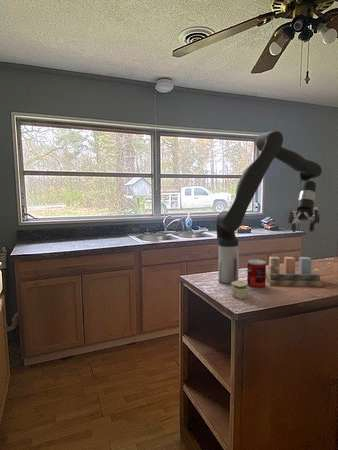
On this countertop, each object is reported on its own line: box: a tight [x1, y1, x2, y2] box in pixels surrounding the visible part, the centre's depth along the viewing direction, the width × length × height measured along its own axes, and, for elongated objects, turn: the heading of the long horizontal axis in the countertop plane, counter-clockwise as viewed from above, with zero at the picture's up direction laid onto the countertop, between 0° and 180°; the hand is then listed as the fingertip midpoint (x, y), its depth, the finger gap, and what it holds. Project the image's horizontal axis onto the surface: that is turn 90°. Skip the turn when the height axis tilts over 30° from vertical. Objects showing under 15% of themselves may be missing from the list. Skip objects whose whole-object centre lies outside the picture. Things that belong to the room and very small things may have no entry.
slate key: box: [298, 256, 312, 274], centre depth 133 cm, size 4×4×8 cm
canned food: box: [246, 259, 267, 289], centre depth 126 cm, size 8×8×11 cm
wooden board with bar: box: [266, 271, 324, 288], centre depth 132 cm, size 22×16×4 cm
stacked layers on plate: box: [230, 280, 248, 300], centre depth 114 cm, size 10×9×6 cm
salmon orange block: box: [283, 256, 296, 274], centre depth 134 cm, size 4×4×8 cm
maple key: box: [268, 256, 281, 274], centre depth 135 cm, size 4×4×8 cm
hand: (302, 231), depth 137 cm, fingers open, 8 cm apart
